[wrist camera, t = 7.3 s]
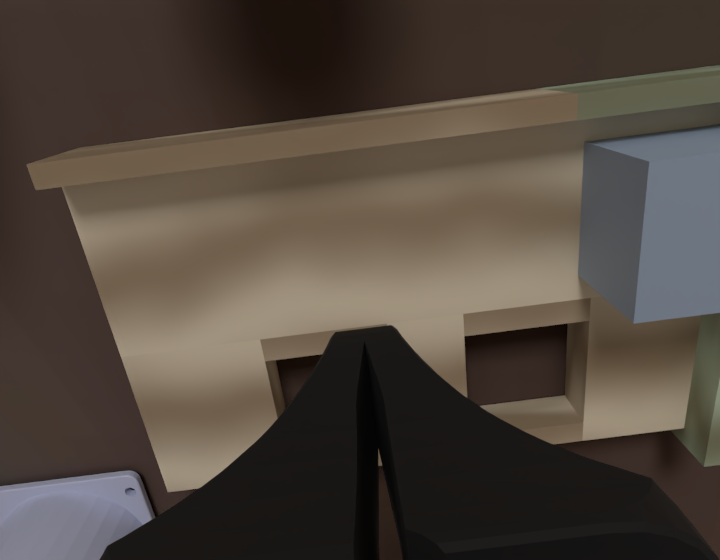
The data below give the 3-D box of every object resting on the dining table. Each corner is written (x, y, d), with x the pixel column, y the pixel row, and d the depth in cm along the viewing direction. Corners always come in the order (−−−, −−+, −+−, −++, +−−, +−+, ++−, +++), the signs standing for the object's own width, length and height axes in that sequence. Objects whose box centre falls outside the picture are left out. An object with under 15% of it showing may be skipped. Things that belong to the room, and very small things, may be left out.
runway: (676, 412, 25) (727, 463, 22) (184, 473, 25) (162, 533, 22) (727, 64, 19) (807, 63, 16) (78, 147, 19) (26, 164, 16)
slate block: (708, 258, 20) (794, 303, 16) (577, 275, 20) (633, 323, 16) (729, 122, 18) (832, 138, 14) (584, 141, 18) (648, 161, 14)
